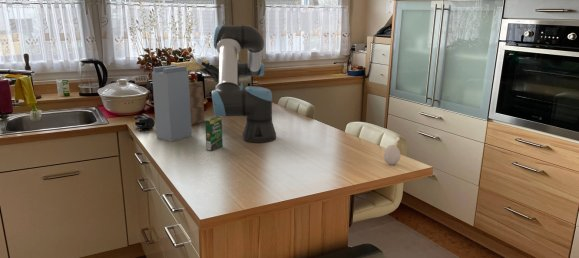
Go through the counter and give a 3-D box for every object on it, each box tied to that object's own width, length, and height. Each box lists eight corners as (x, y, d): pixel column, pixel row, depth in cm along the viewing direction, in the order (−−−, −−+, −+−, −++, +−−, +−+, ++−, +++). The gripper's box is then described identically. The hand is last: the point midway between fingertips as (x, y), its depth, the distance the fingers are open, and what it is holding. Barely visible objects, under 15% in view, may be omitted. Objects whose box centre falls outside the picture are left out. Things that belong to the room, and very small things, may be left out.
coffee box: (211, 151, 182) (209, 120, 179) (205, 150, 183) (204, 119, 180) (223, 146, 189) (222, 116, 186) (217, 145, 190) (216, 115, 187)
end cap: (155, 130, 216) (154, 116, 214) (140, 132, 212) (139, 118, 210) (149, 126, 224) (148, 112, 222) (135, 127, 220) (134, 114, 218)
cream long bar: (203, 67, 237) (203, 59, 236) (209, 67, 235) (209, 60, 234) (171, 71, 220) (171, 63, 219) (177, 72, 218) (176, 64, 217)
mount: (177, 132, 211) (172, 65, 203) (191, 135, 206) (188, 66, 198) (156, 137, 202) (151, 67, 194) (171, 141, 196) (166, 69, 188)
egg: (387, 160, 171) (389, 141, 170) (402, 164, 168) (403, 144, 166) (380, 164, 167) (381, 145, 165) (395, 168, 163) (396, 148, 161)
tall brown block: (191, 118, 239) (189, 80, 234) (204, 121, 233) (202, 81, 228) (176, 122, 231) (174, 82, 226) (190, 125, 225) (187, 84, 220)
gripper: (231, 85, 242) (203, 68, 223) (209, 83, 251) (180, 65, 232) (235, 73, 243) (208, 54, 224) (213, 70, 252) (185, 52, 233)
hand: (194, 60), depth 228 cm, fingers closed on cream long bar, 4 cm apart
